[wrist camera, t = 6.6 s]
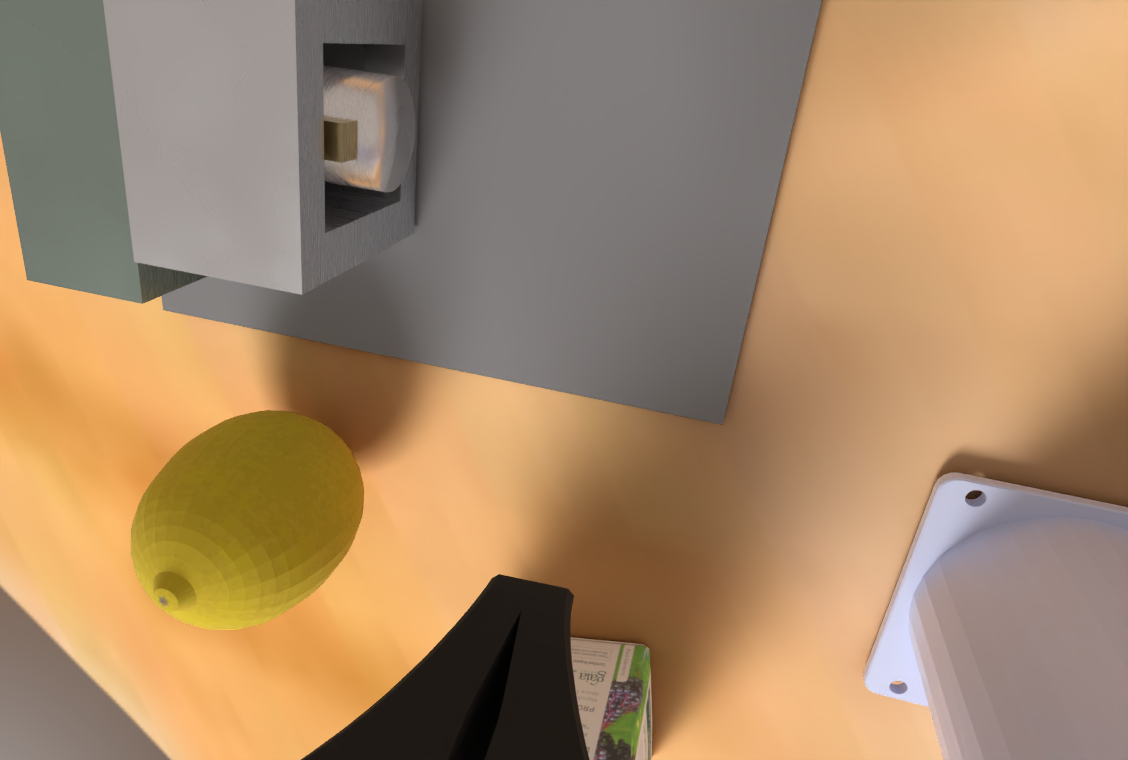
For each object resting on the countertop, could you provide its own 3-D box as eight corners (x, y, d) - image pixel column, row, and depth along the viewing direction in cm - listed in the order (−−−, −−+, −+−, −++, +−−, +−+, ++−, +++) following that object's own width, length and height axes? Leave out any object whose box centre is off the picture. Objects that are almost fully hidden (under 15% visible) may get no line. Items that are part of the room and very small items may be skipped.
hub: (422, -4, 19) (294, -25, 14) (413, 233, 22) (302, 294, 16) (275, -23, 20) (97, -50, 14) (283, 210, 22) (134, 261, 17)
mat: (857, -155, 16) (858, -158, 16) (722, 420, 22) (722, 425, 22) (116, -222, 19) (107, -226, 19) (169, 307, 25) (163, 310, 25)
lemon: (253, 352, 25) (53, 475, 18) (412, 399, 24) (272, 546, 17) (249, 491, 27) (71, 649, 20) (393, 538, 27) (263, 717, 19)
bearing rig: (451, -44, 19) (321, -86, 13) (435, 266, 22) (326, 341, 17) (147, -81, 20) (-92, -133, 15) (174, 218, 24) (-10, 272, 18)
